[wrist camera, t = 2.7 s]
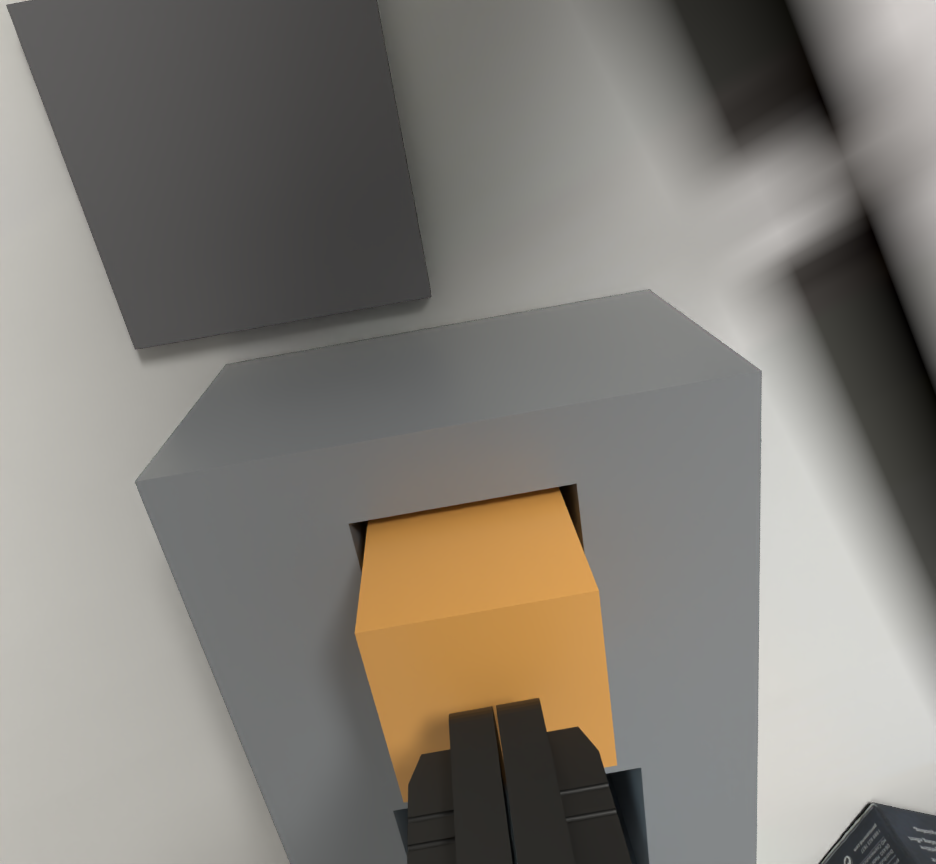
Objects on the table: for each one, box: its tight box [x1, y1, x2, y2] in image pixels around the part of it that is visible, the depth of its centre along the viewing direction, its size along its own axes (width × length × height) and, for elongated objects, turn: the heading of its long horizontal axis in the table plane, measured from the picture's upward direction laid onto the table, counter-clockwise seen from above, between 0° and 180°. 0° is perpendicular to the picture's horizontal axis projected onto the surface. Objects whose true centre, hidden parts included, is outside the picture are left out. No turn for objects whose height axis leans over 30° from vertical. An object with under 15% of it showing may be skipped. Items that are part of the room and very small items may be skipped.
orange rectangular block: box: [355, 487, 617, 803], centre depth 14 cm, size 4×4×5 cm
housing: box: [135, 290, 762, 864], centre depth 20 cm, size 18×12×7 cm, turn 9°
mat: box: [6, 0, 431, 349], centre depth 17 cm, size 8×8×1 cm
